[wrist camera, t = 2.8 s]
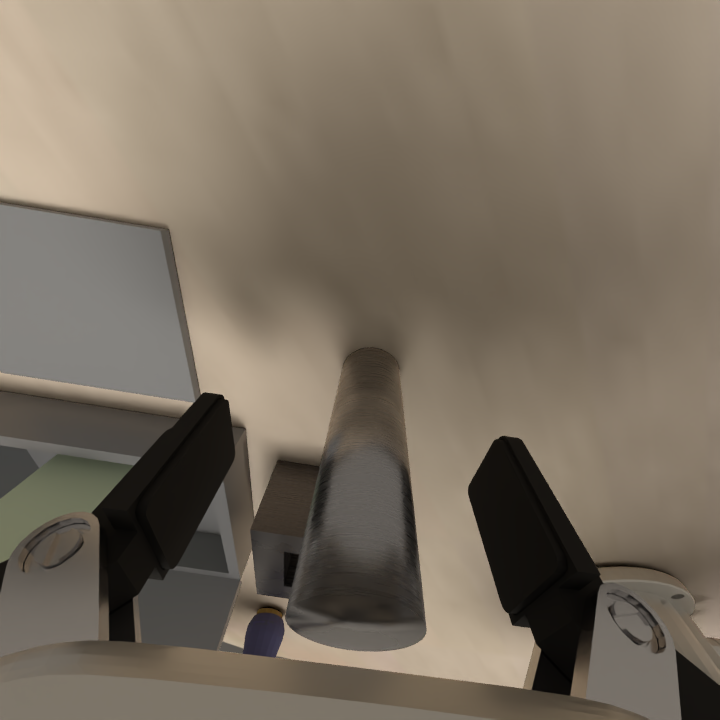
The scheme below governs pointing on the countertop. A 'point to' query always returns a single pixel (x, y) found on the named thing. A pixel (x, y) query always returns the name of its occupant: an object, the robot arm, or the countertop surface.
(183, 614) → the lid
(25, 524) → the block
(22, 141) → the countertop surface
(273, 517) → the square socket block
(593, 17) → the countertop surface
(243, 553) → the case
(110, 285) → the mat
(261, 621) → the rubber mallet
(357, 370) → the rod
